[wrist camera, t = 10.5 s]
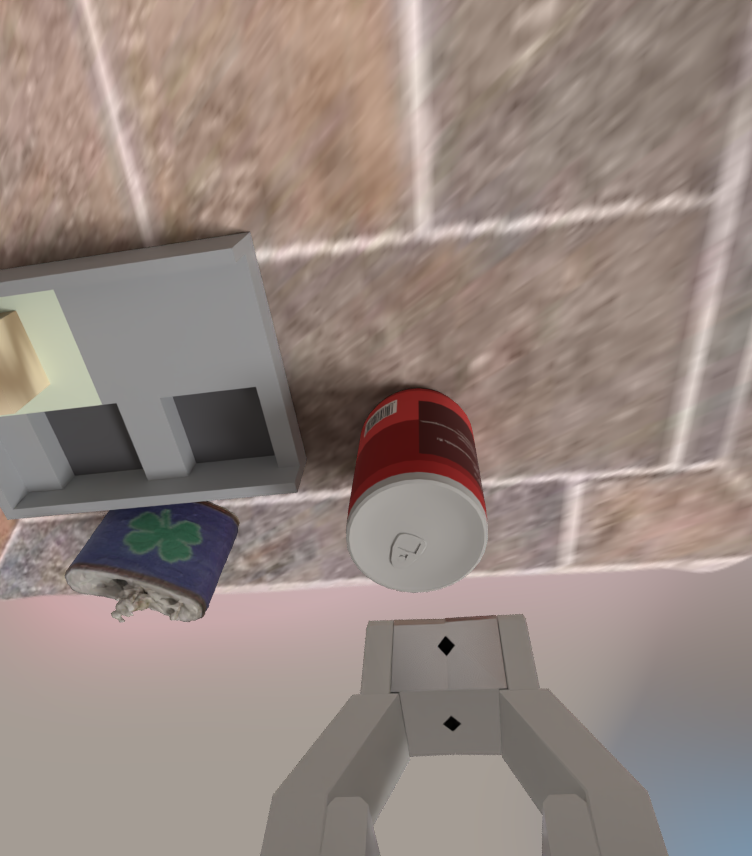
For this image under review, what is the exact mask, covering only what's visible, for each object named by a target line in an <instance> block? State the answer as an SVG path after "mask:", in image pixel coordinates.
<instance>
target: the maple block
mask: <svg viewBox="0 0 752 856" xmlns="http://www.w3.org/2000/svg"><path fill="white" fill-rule="evenodd" d="M49 385H50V382H49V380H48V378H47V375H46V373H45V371H44V369H43V367H42V365H41V363H40V361H39V358H38V356H37V354H36V352H35V350H34V348H33V346H32V344H31V341H30V339H29V337H28V335H27V333H26V331H25V329H24V327H23V324H22V322H21V320H20V318H19V316H18V314H17V312H16V311H9V312H2V313H0V415H8V414H15V413H16V412H17V411H19V410H20V409H21V408H22V407H24V406H25V405H26V404H27V403H28V402H30V401H31V400H32V399H33V398H34V397H36V396H37V395H38V394H39V393H41V392H42V391H43V390H44V389H45V388H47V387H48V386H49Z"/></svg>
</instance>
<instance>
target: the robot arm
mask: <svg viewBox="0 0 752 856" xmlns="http://www.w3.org/2000/svg"><path fill="white" fill-rule="evenodd" d="M455 753H456V754H458V755H459V754H461V755H502V757H503V759H504V761H505V762H506V763H507V764H508V766H509V767H510V769H511V771H512V772H513V773H514V775H515V776H516V778H517V779H518V781H519V782H520V783H521V785H522V786H523V788H524V789H525V791H526V792H527V793H528V795H529V796H530V798H531V799H532V801H533V802H534V804H535V805H536V806H537V808H538V809H539V811H540V812H541V814H542V815H543V820H542V856H668V853H667V850H666V846H665V843H664V840H663V837H662V834H661V831H660V828H659V825H658V822H657V819H656V816H655V812H654V809H653V807H652V803H651V800H650V797H649V794H648V791H647V790H646V789H645V788H644V787H643V786H642V785H641V784H640V783H639V782H638V781H637V780H636V779H635V778H634V777H633V776H632V775H631V774H630V773H629V772H628V771H627V770H626V769H625V768H624V767H623V766H622V764H621V763H620V762H619V761H617V759H616V758H615V757H614V756H613V755H612V754H611V753H610V752H609V751H608V750H607V749H606V748H605V747H604V746H603V745H602V744H601V743H600V742H599V741H598V740H597V739H596V738H595V737H594V736H593V734H592V733H590V732H589V730H588V729H587V728H586V727H585V726H584V725H583V724H582V723H581V722H580V721H579V720H578V719H577V718H576V717H575V716H574V715H573V714H572V713H571V712H570V711H569V710H568V709H567V708H566V707H565V706H564V704H563V703H561V701H560V700H559V699H558V698H557V697H556V696H555V695H554V694H553V693H552V692H551V691H550V690H549V689H540V687H539V682H538V677H537V672H536V667H535V662H534V657H533V652H532V647H531V642H530V637H529V632H528V627H527V622H526V618H525V617H524V615H523V614H515V615H498V616H497V617H496V615H491V616H475V617H456V618H445V619H417V620H416V619H413V620H383V621H369V622H368V625H367V628H366V638H365V649H364V659H363V670H362V681H361V692H360V694H356V695H352V696H351V697H350V699H349V700H348V701H347V702H346V704H345V705H344V706H343V707H342V709H341V710H340V712H339V713H338V714H337V715H336V716H335V718H334V719H333V720H332V721H331V723H330V724H329V725H328V726H327V728H326V729H325V730H324V731H323V733H322V734H321V735H320V736H319V738H318V739H317V740H316V741H315V743H314V744H313V745H312V747H311V748H310V749H309V750H308V751H307V753H306V754H305V755H304V756H303V758H302V759H301V760H300V761H299V763H298V764H297V765H296V767H295V768H294V770H292V772H291V773H290V774H289V775H288V777H287V778H286V779H285V780H284V782H283V783H282V784H281V786H280V787H279V788H278V789H277V791H276V792H275V793H274V794H273V796H272V802H271V806H270V811H269V816H268V821H267V826H266V830H265V835H264V840H263V845H262V850H261V854H260V856H380V852H379V848H378V844H377V840H376V835H375V831H374V827H373V825H374V824H375V822H376V820H377V818H378V817H379V815H380V813H381V811H382V809H383V807H384V806H385V804H386V802H387V800H388V799H389V797H390V795H391V793H392V791H393V790H394V788H395V786H396V784H397V782H398V781H399V779H400V777H401V775H402V773H403V772H404V770H405V768H406V766H407V764H408V763H409V761H410V757H413V756H432V755H454V754H455Z"/></svg>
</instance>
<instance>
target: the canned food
mask: <svg viewBox="0 0 752 856" xmlns="http://www.w3.org/2000/svg"><path fill="white" fill-rule="evenodd" d="M346 541H347V548H348V551H349V554H350V556H351V559H352V560H353V562H354V563H355V565H356V566H357V568H358V569H359V570H360V571H361V572H362V573H363V574H364V575H365V576H366V577H368V578H369V579H371V580H372V581H374V582H375V583H377V584H379V585H382V586H384V587H386V588H389V589H393V590H397V591H401V592H412V593H418V592H429V591H434V590H439V589H442V588H445V587H447V586H450V585H452V584H454V583H456V582H458V581H459V580H461V579H463V578H464V577H465V576H466V575H468V574H469V573H470V572H471V571H472V570H473V569H474V568H475V567H476V565H477V564H478V563H479V562H480V560H481V558H482V556H483V554H484V552H485V549H486V545H487V541H488V521H487V515H486V507H485V501H484V495H483V489H482V483H481V478H480V472H479V466H478V460H477V454H476V448H475V443H474V437H473V432H472V427H471V423H470V421H469V419H468V417H467V415H466V414H465V413H464V411H463V410H462V409H461V408H460V406H459V405H458V404H456V403H455V402H454V401H453V400H452V399H450V398H449V397H448V396H446V395H444V394H442V393H440V392H437V391H433V390H430V389H420V388H417V389H407V390H403V391H400V392H397V393H395V394H393V395H391V396H389V397H387V398H386V399H384V400H383V401H382V402H380V403H379V404H378V405H377V407H376V408H375V409H374V410H373V411H372V412H371V413H370V414H369V416H368V418H367V419H366V421H365V423H364V426H363V429H362V432H361V437H360V443H359V449H358V455H357V461H356V467H355V473H354V479H353V485H352V491H351V497H350V503H349V509H348V518H347V526H346Z"/></svg>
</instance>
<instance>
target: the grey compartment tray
mask: <svg viewBox="0 0 752 856" xmlns="http://www.w3.org/2000/svg"><path fill="white" fill-rule="evenodd" d="M9 311H16V312H17V314H18V316H19V318H20V320H21V322H22V324H23V327H24V329H25V331H26V333H27V335H28V337H29V339H30V341H31V344H32V346H33V348H34V350H35V352H36V354H37V356H38V358H39V361H40V363H41V365H42V367H43V369H44V371H45V373H46V375H47V378H48V380H49V382H50V385H49V386H48V387H47V388H45V389H44V390H43V391H42V392H41V393H39V394H38V395H37V396H36V397H34V398H33V399H32V400H31V401H30V402H28V403H27V404H26V405H25V406H24V407H22V408H21V409H20V410H19V411H17V412H16V413H15V414H8V415H0V507H1V509H2V511H3V512H4V514H5V516H6V518H7V519H8V520H9V519H20V518H30V517H41V516H52V515H62V514H73V513H84V512H94V511H105V510H116V509H126V508H137V507H148V506H158V505H169V504H180V503H190V502H201V501H212V500H222V499H233V498H244V497H254V496H265V495H276V494H286V493H297V492H298V488H299V485H300V482H301V478H302V475H303V471H304V468H305V464H306V461H307V458H306V454H305V450H304V446H303V442H302V438H301V434H300V430H299V426H298V422H297V418H296V414H295V410H294V406H293V402H292V398H291V394H290V390H289V386H288V382H287V378H286V374H285V370H284V366H283V362H282V358H281V354H280V350H279V346H278V342H277V338H276V334H275V330H274V326H273V322H272V318H271V314H270V310H269V306H268V302H267V298H266V294H265V290H264V286H263V282H262V278H261V274H260V270H259V266H258V262H257V258H256V254H255V250H254V246H253V242H252V237H251V233H250V232H247V233H240V234H233V235H227V236H220V237H214V238H207V239H200V240H194V241H187V242H181V243H174V244H167V245H161V246H154V247H148V248H141V249H135V250H128V251H121V252H115V253H108V254H102V255H95V256H88V257H82V258H75V259H69V260H62V261H55V262H49V263H42V264H36V265H29V266H22V267H16V268H9V269H3V270H0V313H2V312H9Z"/></svg>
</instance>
